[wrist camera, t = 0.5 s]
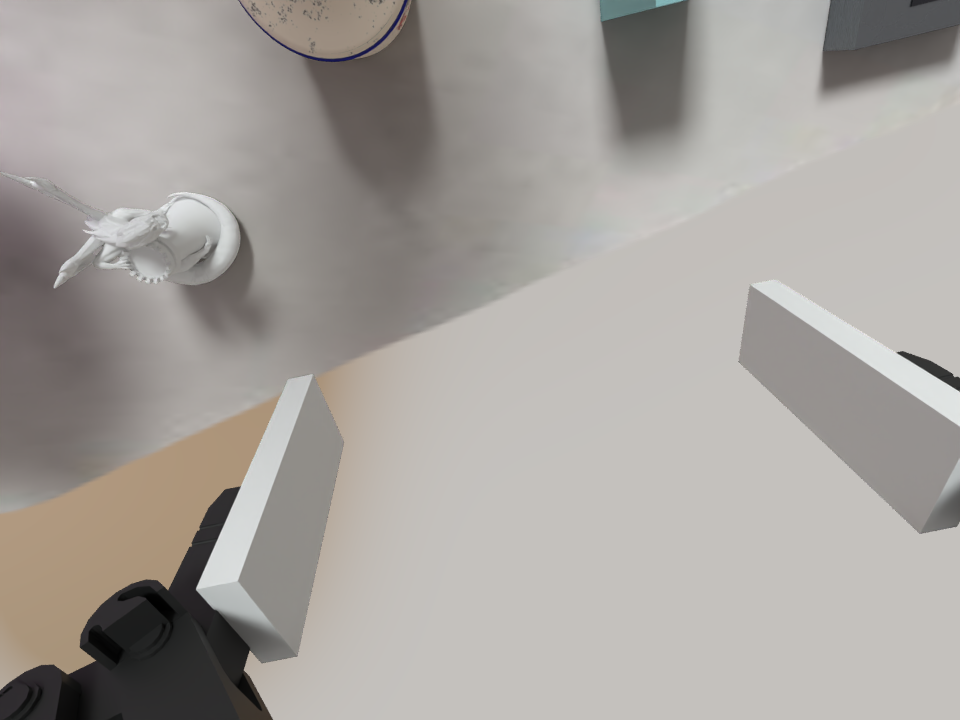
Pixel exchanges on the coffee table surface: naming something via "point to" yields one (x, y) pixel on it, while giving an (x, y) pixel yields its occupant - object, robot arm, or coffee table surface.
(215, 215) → the figurine
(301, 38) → the teacup with lid
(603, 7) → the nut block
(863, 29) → the grey flat slotted block
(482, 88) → the coffee table surface
